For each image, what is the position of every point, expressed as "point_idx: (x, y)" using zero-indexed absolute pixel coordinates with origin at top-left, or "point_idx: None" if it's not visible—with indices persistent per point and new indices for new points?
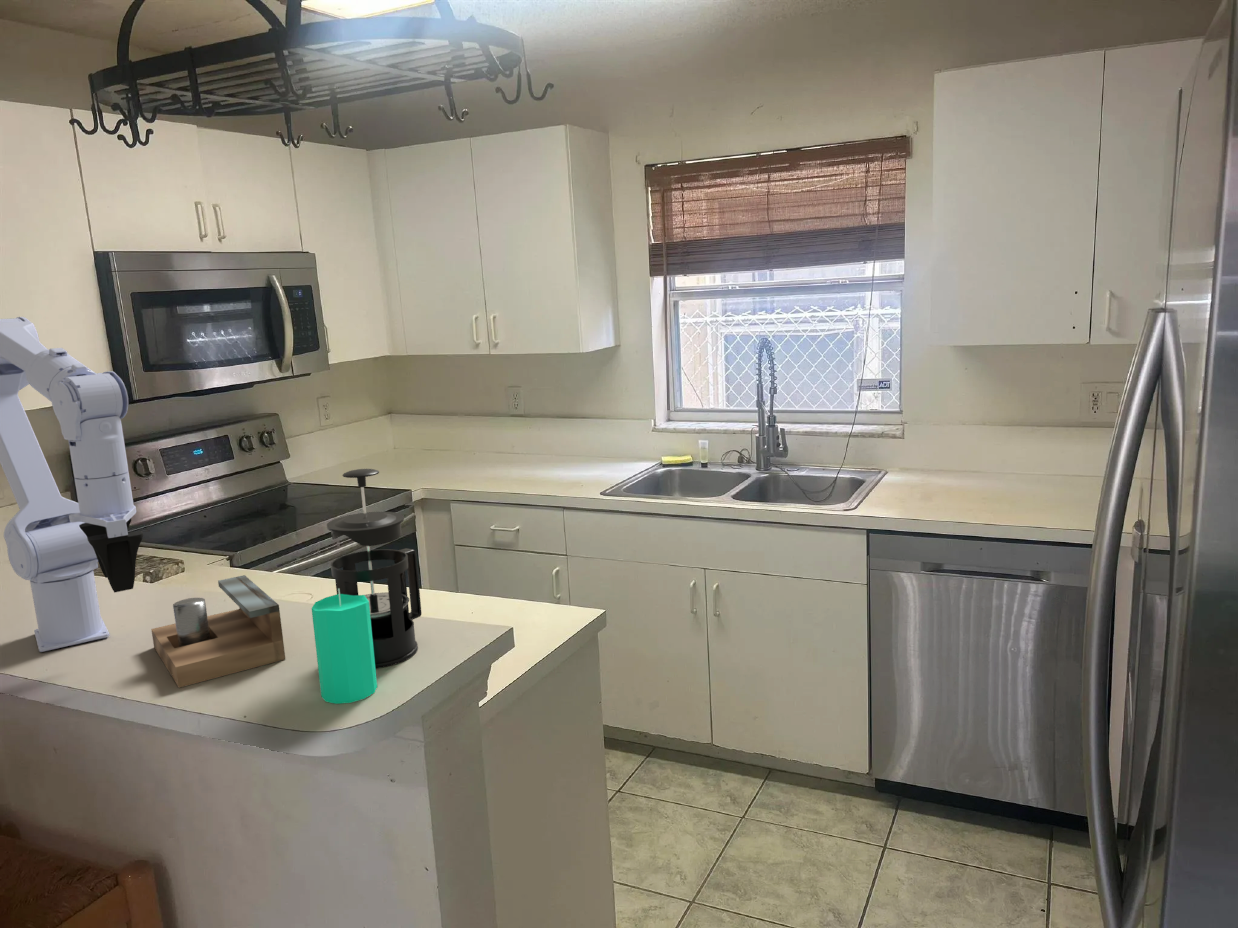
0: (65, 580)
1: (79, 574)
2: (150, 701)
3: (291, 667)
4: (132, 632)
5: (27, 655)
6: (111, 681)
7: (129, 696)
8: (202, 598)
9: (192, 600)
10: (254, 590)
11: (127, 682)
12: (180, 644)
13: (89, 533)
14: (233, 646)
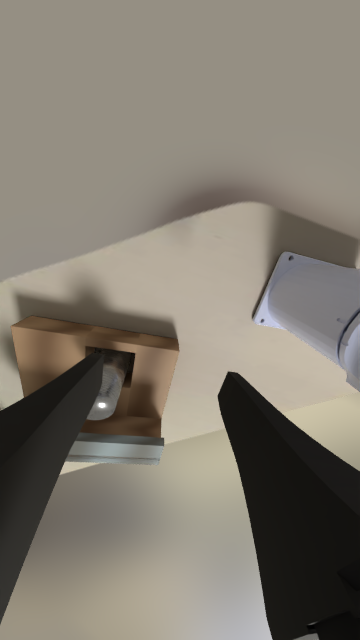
0: (346, 324)
1: (341, 350)
2: (7, 282)
3: (16, 393)
4: (244, 340)
5: (292, 238)
6: (108, 275)
7: (41, 272)
8: (98, 419)
9: (100, 410)
10: (81, 457)
11: (91, 286)
12: (105, 354)
13: (329, 509)
14: (42, 383)
